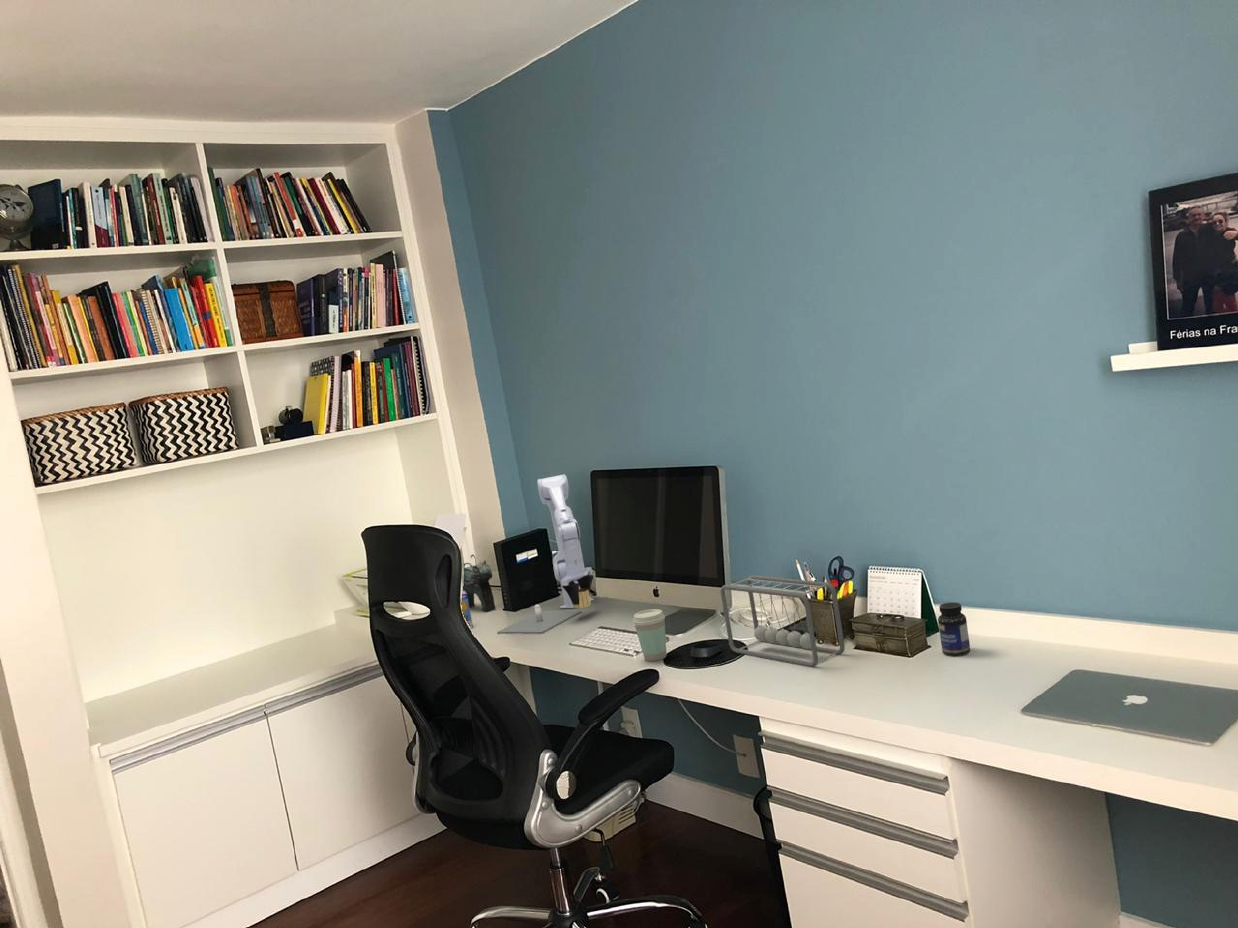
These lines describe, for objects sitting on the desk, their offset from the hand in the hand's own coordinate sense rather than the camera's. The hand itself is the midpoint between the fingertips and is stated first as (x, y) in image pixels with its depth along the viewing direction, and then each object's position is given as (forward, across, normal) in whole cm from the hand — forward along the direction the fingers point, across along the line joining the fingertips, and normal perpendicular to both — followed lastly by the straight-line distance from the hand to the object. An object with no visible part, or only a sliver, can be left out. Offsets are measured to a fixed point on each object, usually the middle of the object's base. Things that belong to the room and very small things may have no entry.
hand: (581, 601), depth 316 cm
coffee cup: (+5, -36, -47) cm, 60 cm away
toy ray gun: (+6, +12, +54) cm, 55 cm away
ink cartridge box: (+6, -12, +43) cm, 45 cm away
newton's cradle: (+5, -32, -82) cm, 88 cm away
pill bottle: (+5, -30, -123) cm, 127 cm away
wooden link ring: (+1, 0, 0) cm, 1 cm away
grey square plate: (+5, -5, +14) cm, 16 cm away
